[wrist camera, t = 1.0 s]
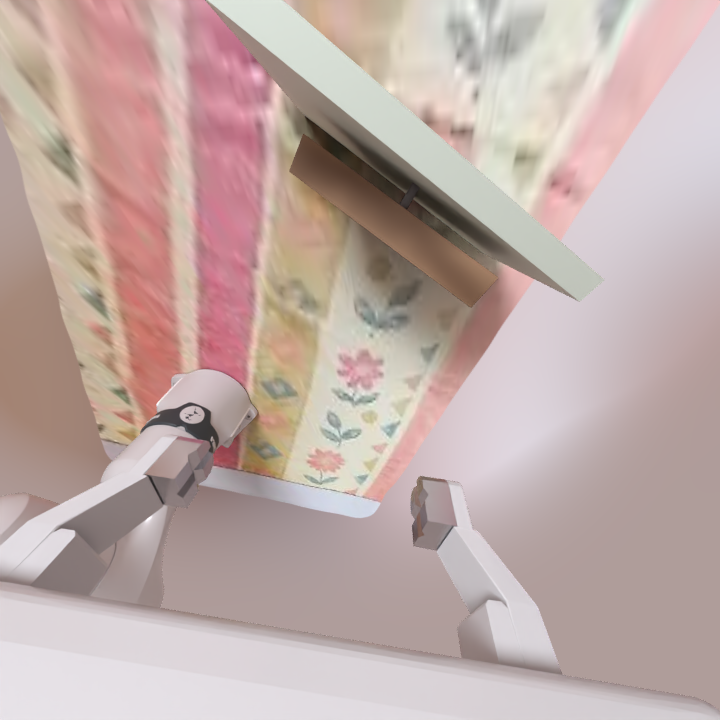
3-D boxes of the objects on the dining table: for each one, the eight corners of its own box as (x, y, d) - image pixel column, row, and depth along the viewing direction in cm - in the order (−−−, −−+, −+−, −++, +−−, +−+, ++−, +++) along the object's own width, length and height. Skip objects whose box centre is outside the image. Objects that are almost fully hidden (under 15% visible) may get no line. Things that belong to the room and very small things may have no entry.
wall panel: (469, 270, 40) (547, 329, 22) (294, 141, 33) (188, 64, 15) (509, 221, 37) (646, 242, 18) (322, 65, 30) (227, -169, 11)
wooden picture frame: (464, 289, 34) (471, 307, 22) (346, 201, 35) (289, 171, 23) (481, 270, 33) (498, 277, 21) (358, 178, 34) (303, 133, 21)
